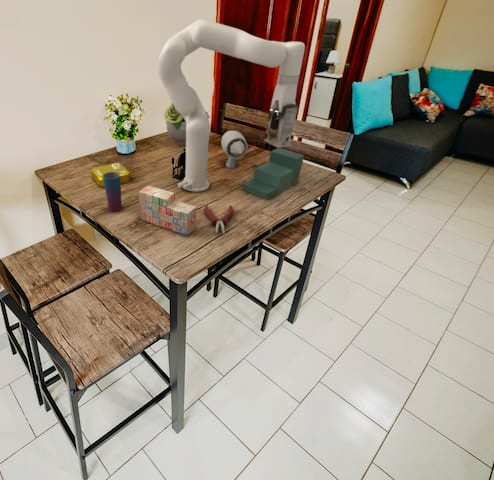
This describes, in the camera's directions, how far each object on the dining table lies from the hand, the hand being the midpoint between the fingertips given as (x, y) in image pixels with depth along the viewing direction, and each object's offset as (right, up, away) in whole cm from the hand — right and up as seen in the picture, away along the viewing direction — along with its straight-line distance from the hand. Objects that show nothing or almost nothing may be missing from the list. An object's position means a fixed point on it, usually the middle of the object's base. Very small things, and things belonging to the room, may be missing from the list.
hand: (279, 126), depth 137 cm
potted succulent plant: (-36, +11, +64) cm, 74 cm away
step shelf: (+1, -22, +17) cm, 27 cm away
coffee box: (0, -6, +4) cm, 7 cm away
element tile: (-73, -17, +24) cm, 79 cm away
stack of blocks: (-46, -40, -9) cm, 62 cm away
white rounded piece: (-14, -10, +34) cm, 38 cm away
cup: (-67, -34, +1) cm, 75 cm away
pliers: (-27, -39, -7) cm, 48 cm away
